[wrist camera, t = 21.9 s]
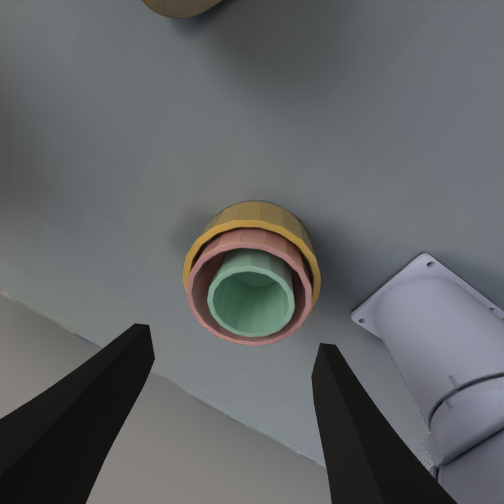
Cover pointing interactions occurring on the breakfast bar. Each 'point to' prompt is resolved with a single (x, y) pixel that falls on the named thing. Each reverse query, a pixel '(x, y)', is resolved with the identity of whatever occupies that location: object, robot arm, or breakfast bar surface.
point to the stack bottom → (264, 218)
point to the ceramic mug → (180, 7)
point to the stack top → (255, 240)
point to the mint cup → (252, 292)
